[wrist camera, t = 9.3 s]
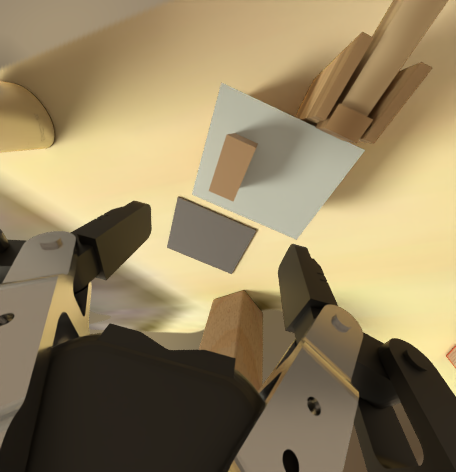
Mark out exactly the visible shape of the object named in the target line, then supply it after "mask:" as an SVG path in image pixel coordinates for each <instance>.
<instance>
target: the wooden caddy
mask: <svg viewBox="0 0 456 472" xmlns="http://www.w3.org/2000/svg"><path fill="white" fill-rule="evenodd" d="M372 40H373V37H371V36H369V35H368V34H366V33H364V32H362V33H361V34H360V35H359V36H358V37H357V38H356V39H355V40H354V41H353V42H352V43H350V44H349V45H348V46H347V47H346V48H345V49H344V50H343V51H342V52H341V53H340V54H339V55H338V56H337V57H336V58H335V59H334V60H333V61H332V62H331V63H330V64H329V65H328V66H327V67H326V68H325V69H324V70H323V71H322V72H321V73H320V74H319V75H318V76H317V77H316V78H315V79H314V80H313V82H312V84H311V86H310V88H309V90H308V92H307V94H306V96H305V98H304V100H303V102H302V104H301V106H300V108H299V110H298V112H297V114H296V116H295V117H296V118H298V119H300V120H302V121H304V122H306V123H308V124H311V125H313V126H315V127H316V126H317V124H318V122H319V121H325V120H326V118H327V117H328V115H329V113H330V112H331V110H332V108H333V106H334V105H335V103H336V101H337V100H338V98H339V96H340V95H341V93H342V91H343V89H344V88H345V86H346V84H347V83H348V81H349V79H350V78H351V76H352V74H353V72H354V71H355V69H356V67H357V66H358V64H359V62H360V61H361V59H362V57H363V55H364V54H365V52H366V50H367V49H368V47H369V45H370V43H371V42H372ZM431 69H432V67H430V66H428V65H426V64H424V63H422V62H421V63H418V64H416V65H414V66H411V67H409V68H406V69H404V70H402V71H399V72H398V73H397V75H396V76H395V77H394V79H393V80H392V82H391V83H390V85H389V86H388V87H387V89H386V90H385V92H384V93H383V95H382V96H381V97H380V99H379V100H378V102H377V103H376V105H375V106H374V107H373V109H372V110H371V112H370V113H369V115H368V116H367V117H369V118H371V119H373V121H372V122H371V124H370V125H369V127H368V128H367V129H366V131H365V132H364V134H363V135H362V136H361V138H360V139H359V140H358V141H360V142H367V143H375V141H376V140H377V139H378V137H379V136H380V135H381V134H382V132H383V131H384V130H385V128H386V127H387V126H388V125H389V123H390V122H391V121H392V119H393V118H394V117H395V116H396V114H397V113H398V112H399V110H400V109H401V108H402V107H403V105H404V104H405V103H406V101H407V100H408V99H409V98H410V96H411V95H412V94H413V92H414V91H415V90H416V89H417V87H418V86H419V85H420V83H421V82H422V81H423V80H424V78H425V77H426V76H427V74H428V73H429V72H430V71H431Z"/></svg>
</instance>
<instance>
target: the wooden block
mask: <svg viewBox="0 0 456 472" xmlns="http://www.w3.org/2000/svg"><path fill="white" fill-rule="evenodd" d="M199 350H208V351H211V352H215V353H218V354H222V355H226V356H229V357H233V358H236V360H235V369H236V370H237V371H239V372H240V373H241V374H243V375H244V376H245V377H246V378H247V379H248V380H249V381H250V382H251V383H252V384H253V386H254V387H255V388H256V390H257V391H258V390H259V389H260V387H261V386H262V372H263V371H262V369H263V368H262V367H263V313H262V311H261V310H260V309H259V308H258V307H257V305H256V304H255V303H254V302H253V300H252V299H251V298H250V297H249V296H248V294H247V293H246V292H245V291H244V290H243V291H239V292H236V293H233V294H230V295H227V296H223V297H220V298H217V299H214V300H213V303H212V307H211V310H210V313H209V317H208V320H207V323H206V327H205V330H204V334H203V337H202V341H201V344H200V348H199Z"/></svg>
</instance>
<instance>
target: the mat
mask: <svg viewBox="0 0 456 472" xmlns="http://www.w3.org/2000/svg"><path fill="white" fill-rule="evenodd" d="M255 232H256V229H253V228H251V227H249V226H246V225H244V224H241V223H239V222H237V221H234V220H232V219H230V218H227V217H225V216H223V215H220V214H218V213H216V212H213V211H211V210H209V209H206V208H204V207H202V206H199V205H197V204H195V203H192V202H190V201H188V200H185V199H183V198H181V197H178V199H177V204H176V208H175V213H174V218H173V222H172V227H171V231H170V236H169V241H168V245H167V248H169V249H172V250H174V251H177V252H179V253H182V254H184V255H186V256H189V257H191V258H194V259H196V260H199V261H201V262H203V263H206V264H208V265H211V266H213V267H216V268H218V269H221V270H223V271H225V272H228V273H230V274H232V272H233V271H234V269H235V267H236V265H237V264H238V262H239V260H240V258H241V257H242V255H243V253H244V251H245V250H246V248H247V246H248V244H249V243H250V241H251V239H252V237H253V236H254V234H255Z"/></svg>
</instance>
